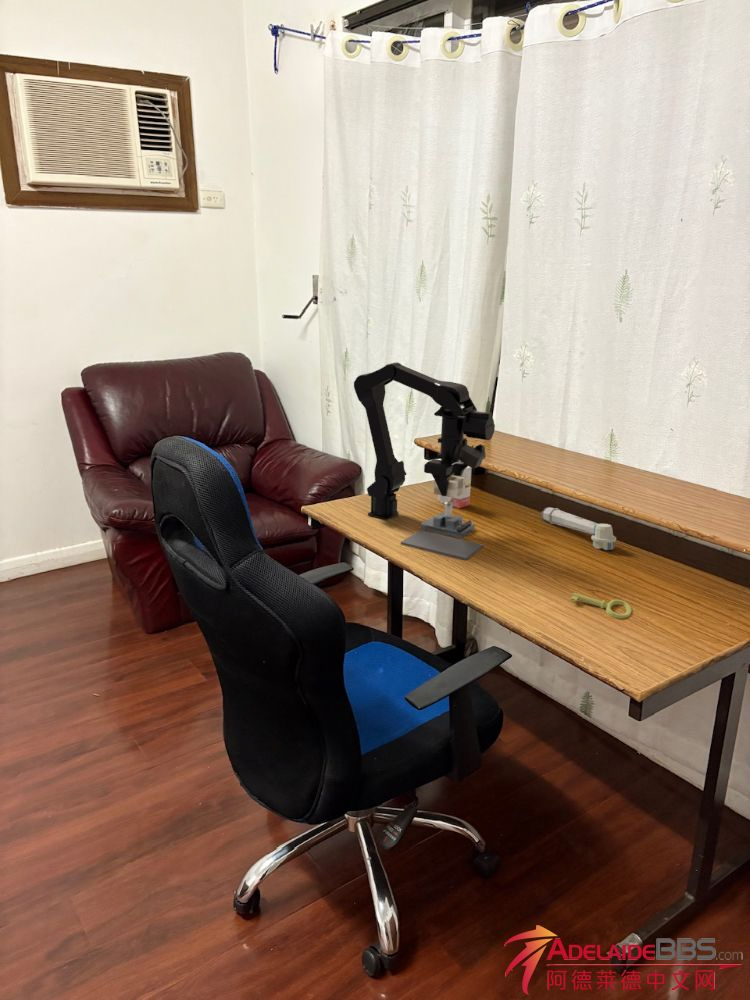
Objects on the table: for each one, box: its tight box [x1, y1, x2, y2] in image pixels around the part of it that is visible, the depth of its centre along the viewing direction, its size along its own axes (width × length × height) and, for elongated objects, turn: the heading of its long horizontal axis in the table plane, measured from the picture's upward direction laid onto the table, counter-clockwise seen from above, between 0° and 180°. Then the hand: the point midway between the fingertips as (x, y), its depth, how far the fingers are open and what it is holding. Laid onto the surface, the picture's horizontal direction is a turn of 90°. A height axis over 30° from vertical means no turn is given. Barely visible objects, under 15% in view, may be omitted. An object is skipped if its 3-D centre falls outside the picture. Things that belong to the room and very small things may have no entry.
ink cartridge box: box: [437, 459, 472, 509], centre depth 211 cm, size 9×5×15 cm, turn 43°
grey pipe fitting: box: [541, 506, 617, 551], centre depth 190 cm, size 5×7×25 cm
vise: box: [419, 501, 476, 540], centre depth 192 cm, size 12×8×8 cm, turn 58°
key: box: [570, 592, 633, 620], centre depth 151 cm, size 7×12×2 cm, turn 80°
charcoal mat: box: [400, 529, 484, 561], centre depth 182 cm, size 18×10×1 cm, turn 58°
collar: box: [433, 475, 466, 498], centre depth 189 cm, size 6×6×4 cm
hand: (449, 492), depth 190 cm, fingers closed on collar, 6 cm apart
